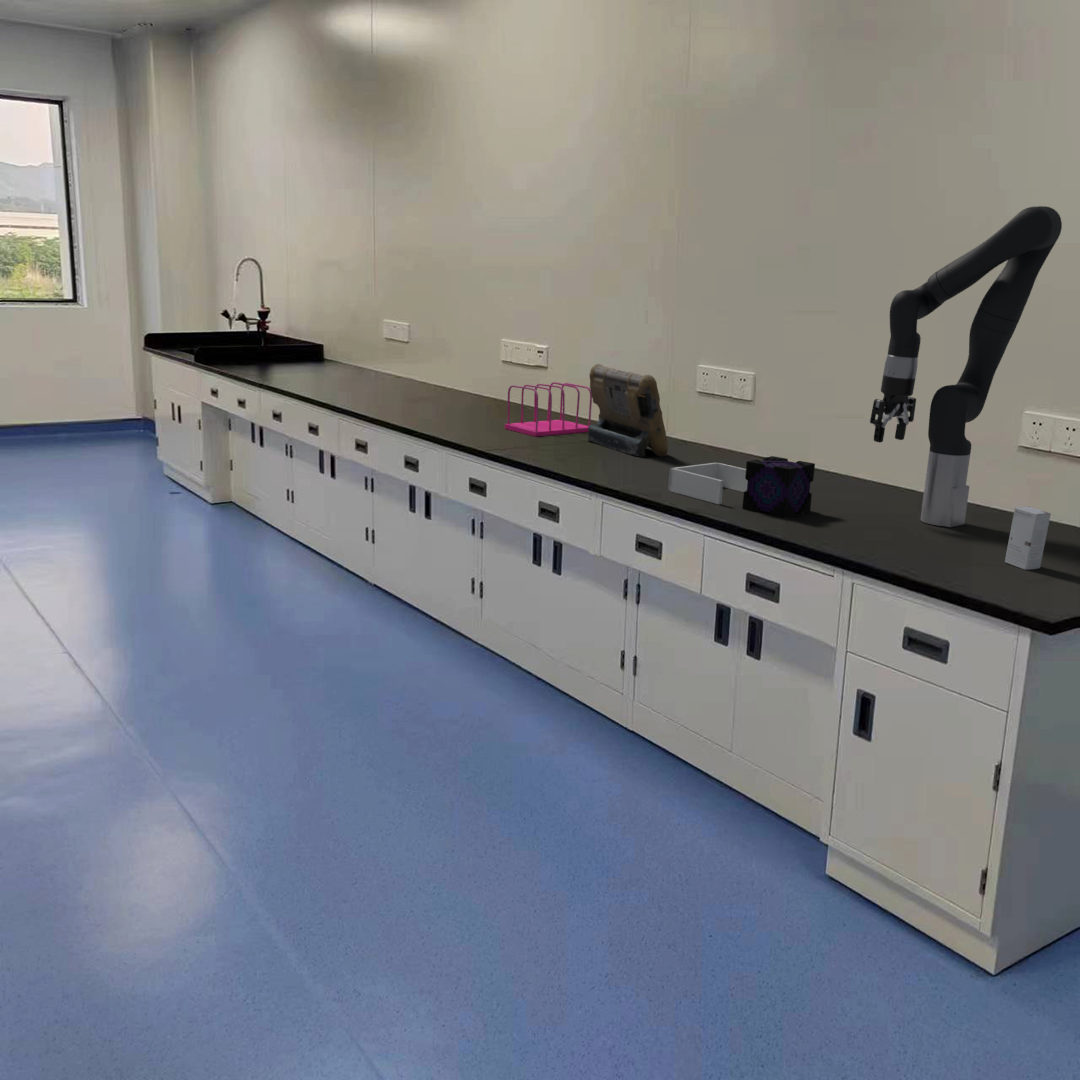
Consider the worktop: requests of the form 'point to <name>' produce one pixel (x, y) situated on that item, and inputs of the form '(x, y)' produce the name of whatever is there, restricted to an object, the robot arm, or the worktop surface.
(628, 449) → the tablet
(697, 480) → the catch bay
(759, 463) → the energy cube
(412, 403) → the worktop surface
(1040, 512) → the skincare box
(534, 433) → the file sorter
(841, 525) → the worktop surface
